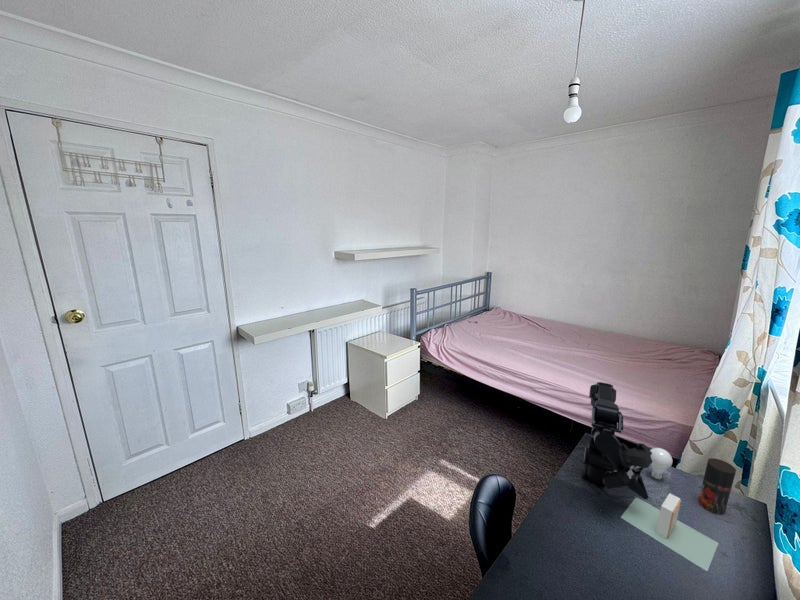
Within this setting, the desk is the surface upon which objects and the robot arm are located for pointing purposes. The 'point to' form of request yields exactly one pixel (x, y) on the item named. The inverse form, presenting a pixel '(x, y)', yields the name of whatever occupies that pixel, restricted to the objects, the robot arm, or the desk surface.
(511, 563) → the desk surface
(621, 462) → the robot arm
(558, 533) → the desk surface
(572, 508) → the desk surface
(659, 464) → the lightbulb
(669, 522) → the block
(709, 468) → the deodorant
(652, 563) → the desk surface
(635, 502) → the mat
